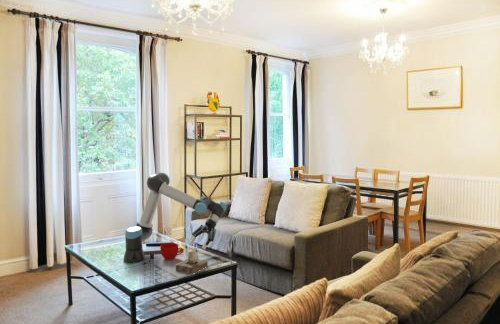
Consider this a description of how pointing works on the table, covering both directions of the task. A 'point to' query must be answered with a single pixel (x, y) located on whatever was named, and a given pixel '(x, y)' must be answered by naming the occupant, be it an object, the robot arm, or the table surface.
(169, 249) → the ceramic cup
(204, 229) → the robot arm
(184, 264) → the board
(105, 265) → the table surface
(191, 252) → the peg
